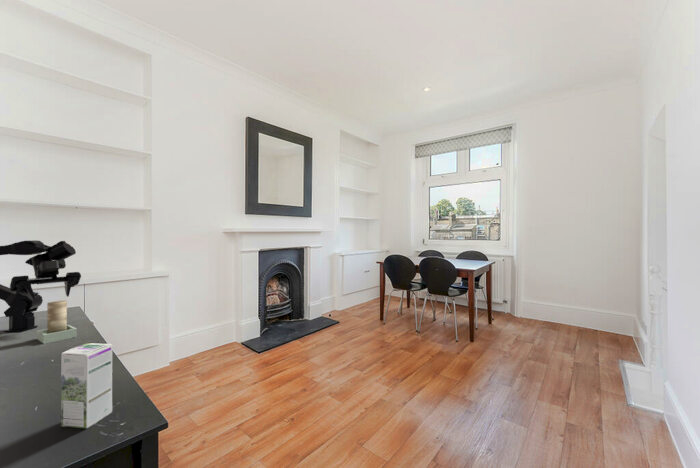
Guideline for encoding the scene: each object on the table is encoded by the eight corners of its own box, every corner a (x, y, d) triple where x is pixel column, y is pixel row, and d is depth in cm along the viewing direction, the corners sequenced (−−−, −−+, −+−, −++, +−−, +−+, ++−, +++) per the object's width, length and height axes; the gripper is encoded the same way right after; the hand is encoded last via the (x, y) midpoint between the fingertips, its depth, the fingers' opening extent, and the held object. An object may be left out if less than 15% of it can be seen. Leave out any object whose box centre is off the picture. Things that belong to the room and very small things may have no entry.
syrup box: (113, 411, 61) (114, 342, 62) (85, 430, 56) (86, 353, 56) (88, 410, 62) (89, 341, 62) (58, 428, 56) (59, 352, 56)
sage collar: (37, 339, 105) (37, 330, 105) (69, 332, 112) (69, 324, 112) (43, 343, 100) (43, 335, 101) (76, 336, 108) (77, 328, 108)
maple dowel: (43, 340, 104) (43, 303, 104) (56, 335, 109) (56, 300, 109) (57, 340, 104) (57, 303, 104) (70, 335, 109) (70, 300, 109)
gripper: (12, 254, 106) (18, 287, 100) (79, 252, 122) (89, 281, 116) (7, 274, 110) (13, 307, 104) (73, 270, 126) (81, 298, 120)
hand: (51, 297), depth 111 cm, fingers open, 9 cm apart
